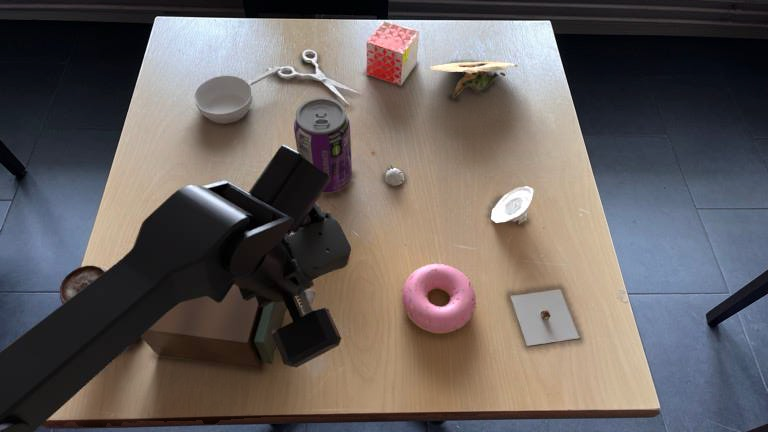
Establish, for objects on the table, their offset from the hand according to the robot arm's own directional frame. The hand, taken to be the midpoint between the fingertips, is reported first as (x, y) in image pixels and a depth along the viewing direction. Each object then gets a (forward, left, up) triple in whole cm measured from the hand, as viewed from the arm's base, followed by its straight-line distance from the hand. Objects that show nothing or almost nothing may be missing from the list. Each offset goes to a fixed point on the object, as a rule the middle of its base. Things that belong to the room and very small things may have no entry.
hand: (304, 292), depth 65 cm
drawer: (0, +9, -12) cm, 15 cm away
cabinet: (0, +13, -13) cm, 18 cm away
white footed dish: (+25, -29, -13) cm, 40 cm away
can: (-3, +26, -13) cm, 30 cm away
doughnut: (+7, -18, -13) cm, 23 cm away
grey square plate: (+7, -34, -13) cm, 37 cm away
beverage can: (+29, +3, -13) cm, 32 cm away
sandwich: (+58, -21, -13) cm, 63 cm away
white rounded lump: (+30, -9, -13) cm, 34 cm away
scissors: (+54, +9, -13) cm, 56 cm away
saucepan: (+46, +23, -13) cm, 53 cm away
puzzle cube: (+60, -5, -13) cm, 61 cm away
